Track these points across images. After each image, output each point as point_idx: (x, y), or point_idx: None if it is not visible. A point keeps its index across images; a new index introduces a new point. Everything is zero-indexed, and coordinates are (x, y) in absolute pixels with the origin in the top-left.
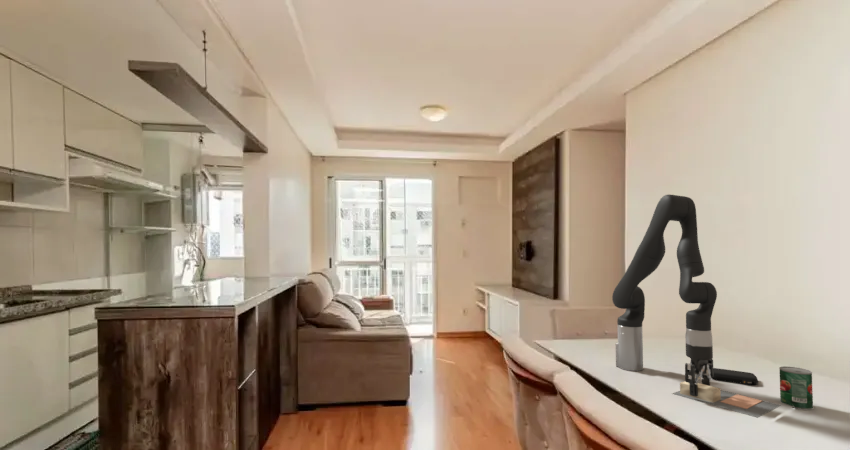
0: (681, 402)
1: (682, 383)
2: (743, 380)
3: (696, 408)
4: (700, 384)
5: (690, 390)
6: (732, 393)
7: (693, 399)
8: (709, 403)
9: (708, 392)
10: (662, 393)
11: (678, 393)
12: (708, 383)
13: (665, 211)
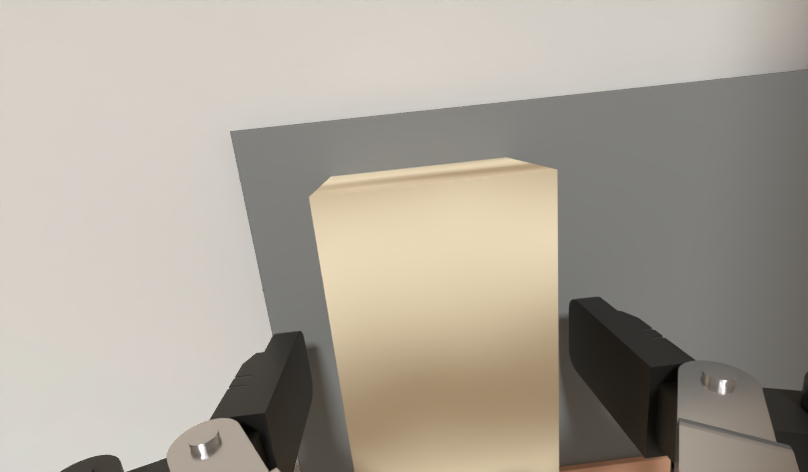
0: (145, 307)
1: (315, 233)
2: None
3: (143, 446)
4: (511, 374)
5: (236, 384)
6: None
7: None
8: (318, 465)
9: None
10: (195, 26)
11: (311, 165)
12: (620, 420)
13: None
